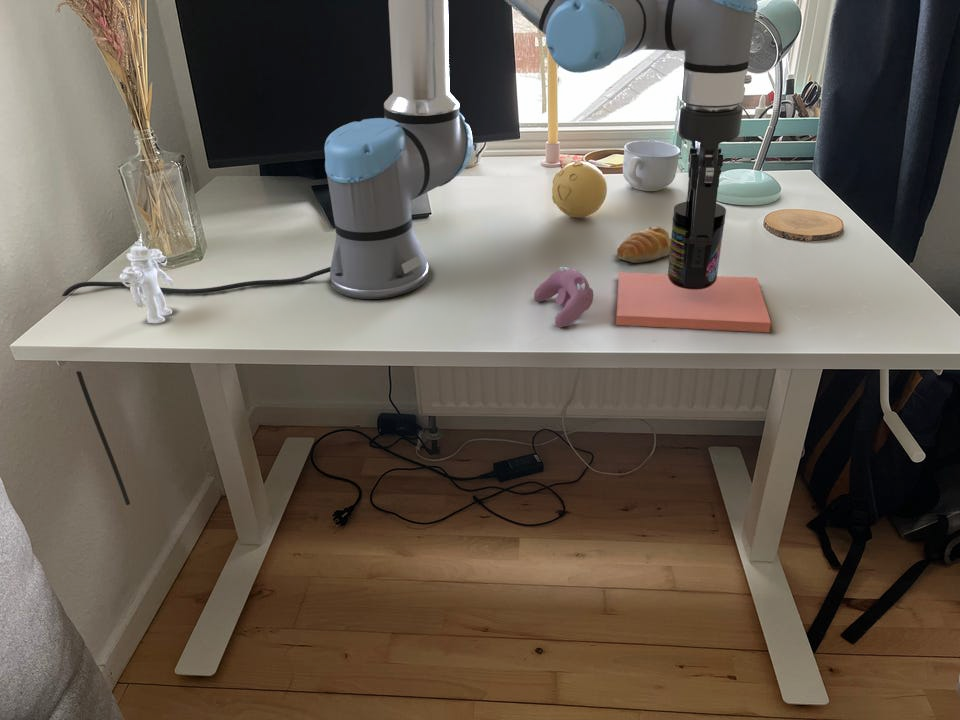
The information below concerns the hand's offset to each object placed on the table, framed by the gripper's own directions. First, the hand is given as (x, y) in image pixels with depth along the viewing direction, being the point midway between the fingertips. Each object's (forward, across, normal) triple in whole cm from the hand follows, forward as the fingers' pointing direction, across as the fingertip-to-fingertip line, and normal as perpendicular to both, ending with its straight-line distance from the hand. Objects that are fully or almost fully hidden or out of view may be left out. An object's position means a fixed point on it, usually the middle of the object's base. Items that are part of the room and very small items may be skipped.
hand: (692, 274), depth 105 cm
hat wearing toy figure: (+5, -12, +76) cm, 77 cm away
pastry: (+5, +18, +6) cm, 19 cm away
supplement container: (+1, 0, 0) cm, 1 cm away
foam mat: (+5, 0, 0) cm, 5 cm away
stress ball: (+5, +34, +18) cm, 39 cm away
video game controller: (+5, -4, +18) cm, 19 cm away
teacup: (+5, +50, +6) cm, 51 cm away
